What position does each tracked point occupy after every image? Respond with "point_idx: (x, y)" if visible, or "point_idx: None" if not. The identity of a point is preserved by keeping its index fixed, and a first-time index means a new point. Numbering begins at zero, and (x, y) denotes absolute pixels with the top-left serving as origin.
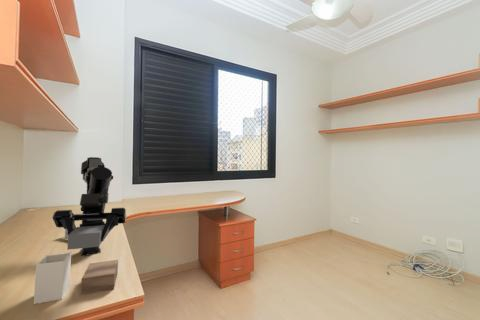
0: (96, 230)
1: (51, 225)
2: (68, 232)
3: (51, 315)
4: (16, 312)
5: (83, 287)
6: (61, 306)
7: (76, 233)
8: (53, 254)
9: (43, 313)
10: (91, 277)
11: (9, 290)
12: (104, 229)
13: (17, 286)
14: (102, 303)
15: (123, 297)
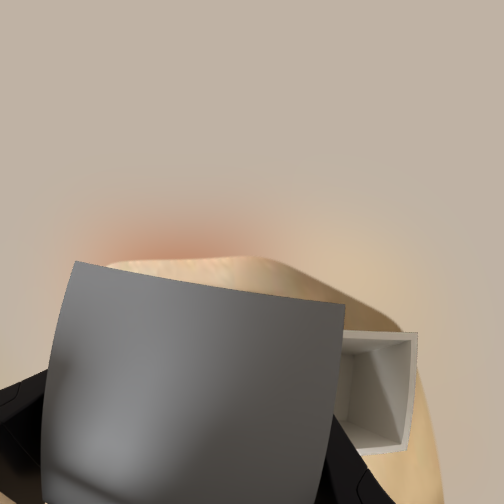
0: (87, 354)
1: None
2: (358, 462)
3: (298, 270)
4: (383, 325)
5: None
6: None
7: (271, 330)
8: (378, 452)
9: (319, 289)
10: None
11: (428, 453)
12: (40, 389)
13: (417, 471)
14: (181, 264)
15: (131, 266)
